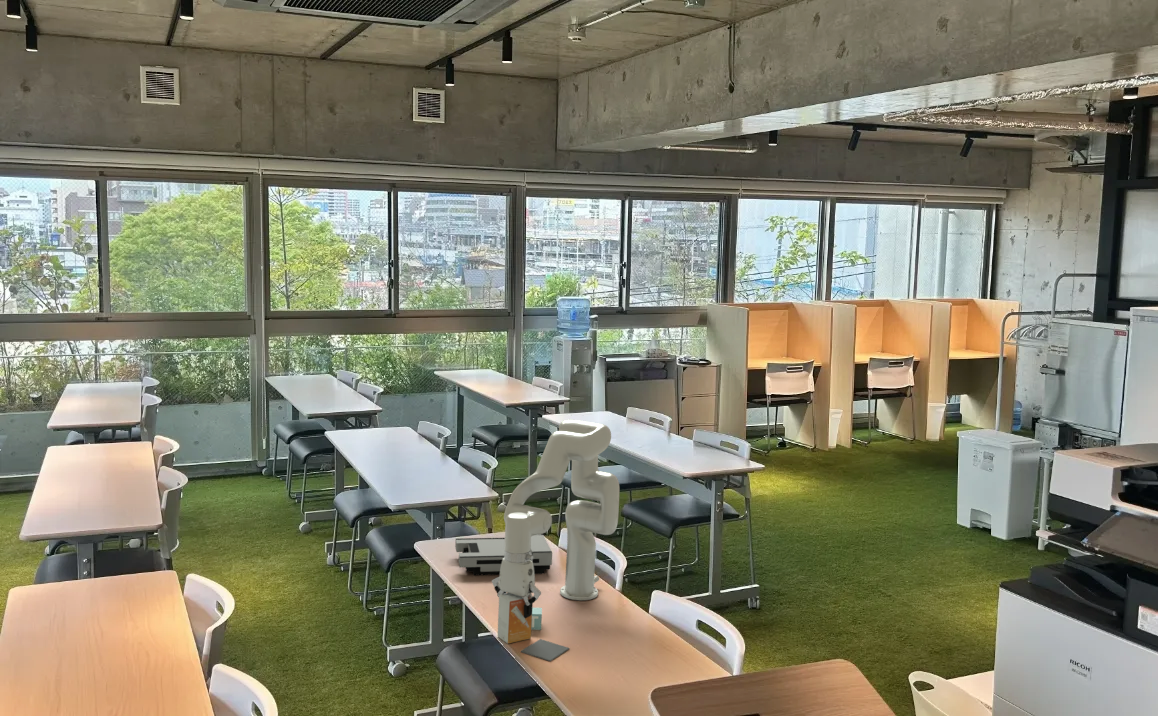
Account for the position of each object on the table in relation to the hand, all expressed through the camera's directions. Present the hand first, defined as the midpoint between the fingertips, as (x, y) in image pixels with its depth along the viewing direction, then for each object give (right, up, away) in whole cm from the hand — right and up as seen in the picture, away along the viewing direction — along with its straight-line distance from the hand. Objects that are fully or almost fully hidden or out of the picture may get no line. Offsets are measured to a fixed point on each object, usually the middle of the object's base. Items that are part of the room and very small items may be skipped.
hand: (515, 612), depth 281 cm
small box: (0, -8, +1) cm, 8 cm away
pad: (+9, -9, -7) cm, 14 cm away
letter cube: (+5, -7, +10) cm, 13 cm away
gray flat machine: (-9, 0, +61) cm, 62 cm away
